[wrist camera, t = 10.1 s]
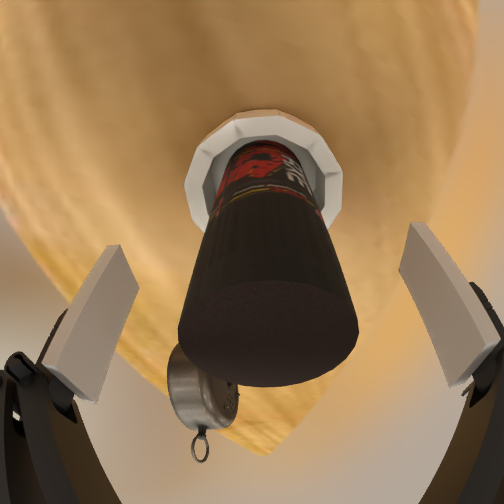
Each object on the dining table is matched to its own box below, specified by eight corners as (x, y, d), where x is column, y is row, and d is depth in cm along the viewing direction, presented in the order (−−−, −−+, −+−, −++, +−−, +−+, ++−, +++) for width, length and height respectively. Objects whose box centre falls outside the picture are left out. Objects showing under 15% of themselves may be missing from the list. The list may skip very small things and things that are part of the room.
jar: (188, 118, 19) (172, 129, 16) (327, 106, 18) (342, 113, 15) (210, 234, 25) (203, 263, 22) (327, 225, 24) (338, 253, 21)
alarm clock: (177, 316, 32) (146, 446, 19) (218, 310, 31) (200, 452, 18) (211, 364, 38) (199, 470, 25) (247, 360, 37) (242, 471, 24)
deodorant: (313, 154, 20) (394, 303, 7) (286, 219, 23) (309, 393, 11) (237, 129, 19) (191, 254, 7) (217, 199, 22) (171, 371, 10)
